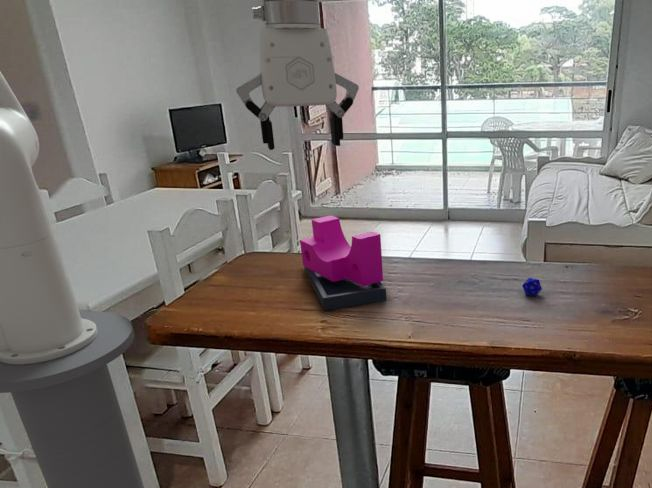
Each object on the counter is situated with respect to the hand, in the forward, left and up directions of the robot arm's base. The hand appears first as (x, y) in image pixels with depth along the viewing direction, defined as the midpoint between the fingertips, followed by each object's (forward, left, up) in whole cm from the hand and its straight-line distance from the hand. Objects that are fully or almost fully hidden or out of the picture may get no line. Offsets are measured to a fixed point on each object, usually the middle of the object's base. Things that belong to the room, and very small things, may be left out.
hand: (304, 146), depth 85 cm
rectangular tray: (+3, -2, -22) cm, 22 cm away
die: (+29, -18, -22) cm, 41 cm away
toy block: (+3, -2, -20) cm, 21 cm away
